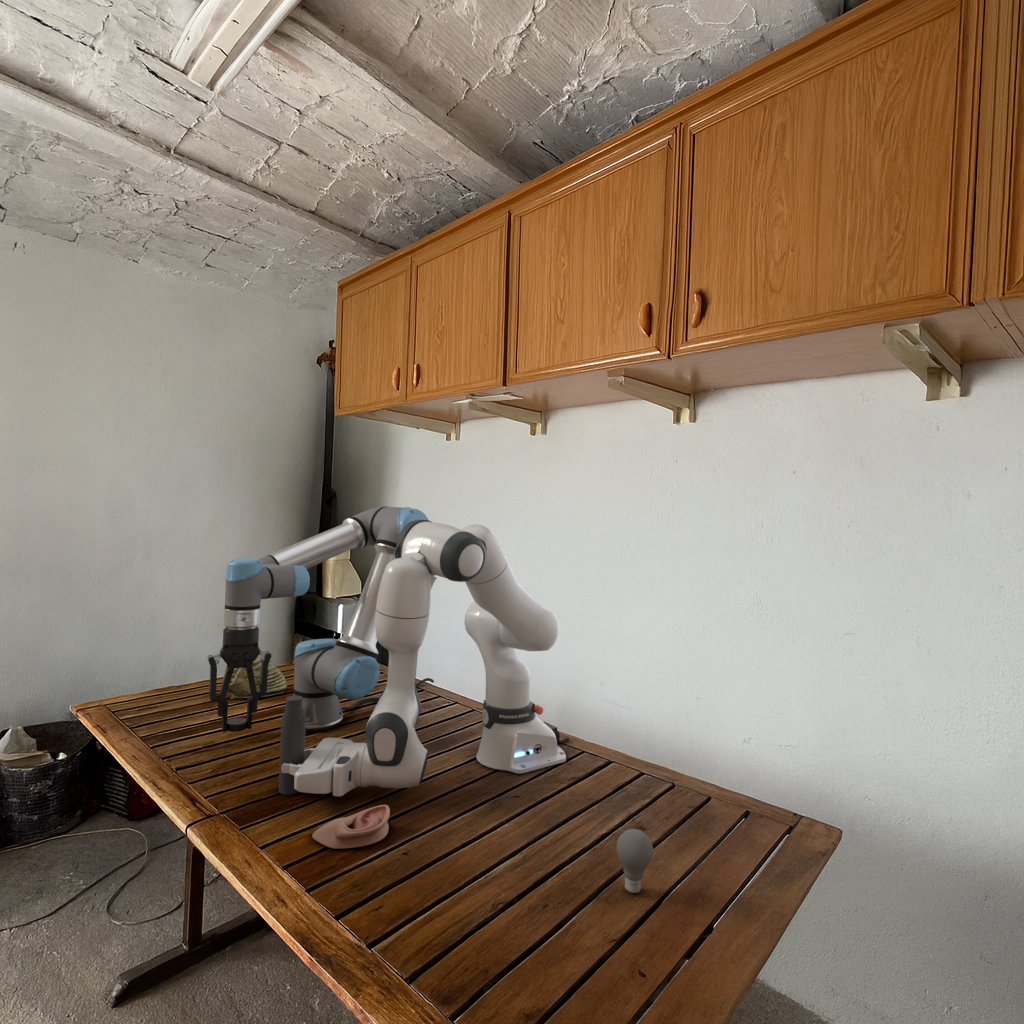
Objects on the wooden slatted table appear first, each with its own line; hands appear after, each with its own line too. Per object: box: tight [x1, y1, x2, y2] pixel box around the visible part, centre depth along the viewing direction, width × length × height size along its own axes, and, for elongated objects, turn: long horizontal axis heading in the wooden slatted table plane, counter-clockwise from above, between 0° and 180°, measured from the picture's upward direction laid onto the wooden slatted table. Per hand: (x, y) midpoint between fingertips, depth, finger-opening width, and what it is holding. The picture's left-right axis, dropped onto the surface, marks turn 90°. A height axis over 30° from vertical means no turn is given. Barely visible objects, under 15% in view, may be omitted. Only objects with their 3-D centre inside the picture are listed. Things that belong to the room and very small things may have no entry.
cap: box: [227, 717, 248, 733], centre depth 145 cm, size 5×5×2 cm
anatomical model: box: [311, 804, 391, 850], centre depth 119 cm, size 13×4×12 cm
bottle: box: [278, 695, 306, 796], centre depth 136 cm, size 5×5×20 cm
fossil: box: [222, 647, 288, 699], centre depth 198 cm, size 9×18×15 cm, turn 132°
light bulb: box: [615, 828, 654, 894], centre depth 106 cm, size 6×6×10 cm
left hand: (236, 728), depth 145 cm, fingers closed on cap, 4 cm apart
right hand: (287, 761), depth 136 cm, fingers closed on bottle, 5 cm apart
